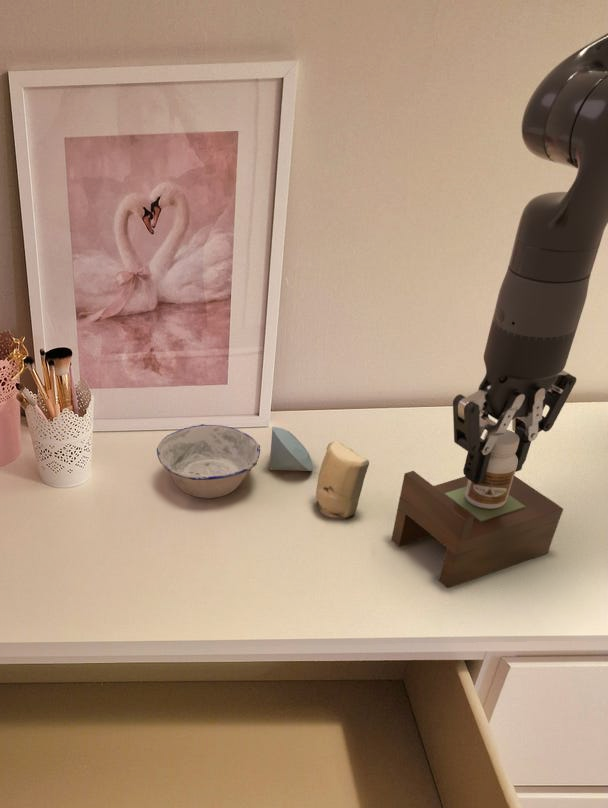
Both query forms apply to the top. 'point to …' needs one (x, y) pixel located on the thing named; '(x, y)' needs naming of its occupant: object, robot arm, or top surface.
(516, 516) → the shelf
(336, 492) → the beige rounded block
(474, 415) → the robot arm
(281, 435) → the gemstone
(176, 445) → the bowl
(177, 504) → the top surface
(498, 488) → the pill bottle
